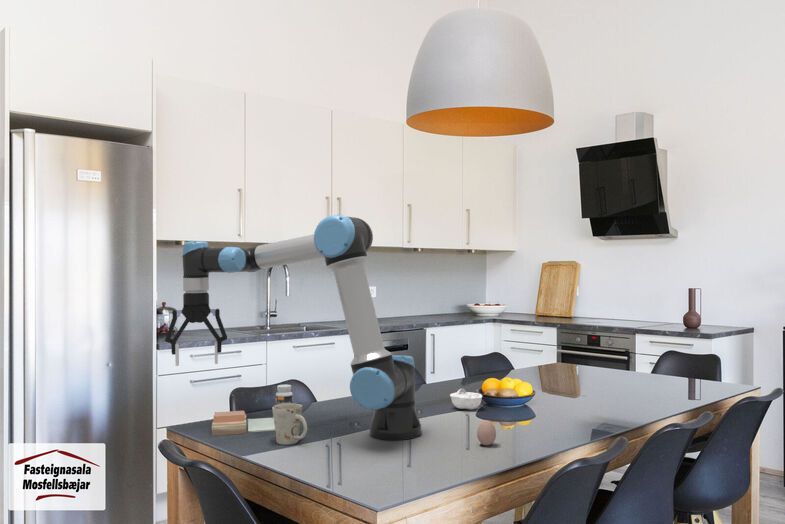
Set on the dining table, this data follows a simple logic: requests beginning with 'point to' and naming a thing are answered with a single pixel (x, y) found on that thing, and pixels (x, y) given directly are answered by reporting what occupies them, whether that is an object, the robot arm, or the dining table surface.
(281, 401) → the pill bottle
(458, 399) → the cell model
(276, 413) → the mug
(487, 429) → the egg
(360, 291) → the robot arm
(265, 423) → the mat
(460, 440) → the dining table surface
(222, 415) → the tile
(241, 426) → the tan wooden flat block
